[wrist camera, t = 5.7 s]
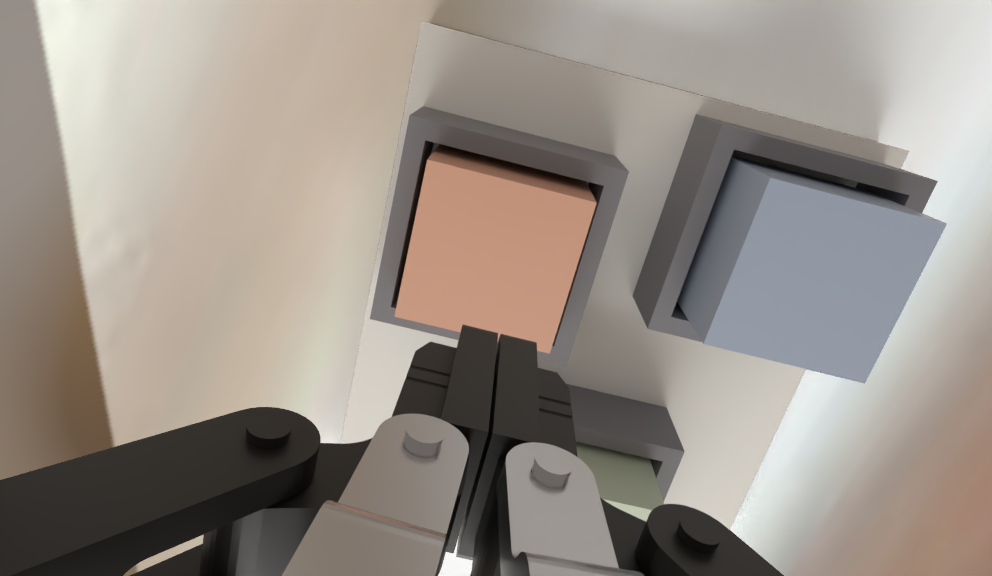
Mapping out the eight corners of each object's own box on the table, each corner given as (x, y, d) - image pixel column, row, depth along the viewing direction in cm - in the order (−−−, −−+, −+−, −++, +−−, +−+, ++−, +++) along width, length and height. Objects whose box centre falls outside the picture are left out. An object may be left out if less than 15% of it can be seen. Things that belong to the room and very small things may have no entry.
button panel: (878, 142, 24) (966, 166, 19) (698, 539, 31) (731, 628, 26) (429, 22, 23) (406, 17, 18) (343, 459, 30) (310, 537, 25)
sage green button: (644, 442, 25) (667, 513, 21) (605, 543, 26) (619, 625, 23) (517, 413, 24) (517, 479, 21) (486, 517, 26) (481, 595, 22)
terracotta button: (583, 175, 22) (596, 202, 19) (544, 305, 24) (549, 353, 20) (442, 139, 22) (427, 159, 18) (413, 273, 24) (394, 316, 20)
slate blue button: (870, 191, 21) (946, 223, 17) (807, 327, 23) (864, 383, 19) (725, 153, 21) (770, 177, 17) (672, 294, 23) (703, 343, 19)
